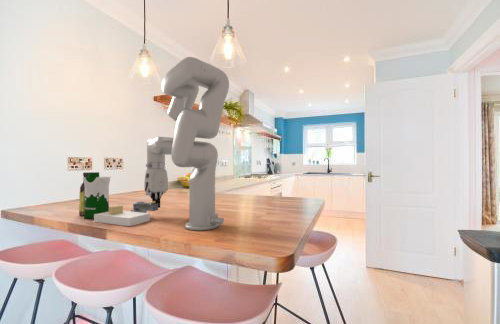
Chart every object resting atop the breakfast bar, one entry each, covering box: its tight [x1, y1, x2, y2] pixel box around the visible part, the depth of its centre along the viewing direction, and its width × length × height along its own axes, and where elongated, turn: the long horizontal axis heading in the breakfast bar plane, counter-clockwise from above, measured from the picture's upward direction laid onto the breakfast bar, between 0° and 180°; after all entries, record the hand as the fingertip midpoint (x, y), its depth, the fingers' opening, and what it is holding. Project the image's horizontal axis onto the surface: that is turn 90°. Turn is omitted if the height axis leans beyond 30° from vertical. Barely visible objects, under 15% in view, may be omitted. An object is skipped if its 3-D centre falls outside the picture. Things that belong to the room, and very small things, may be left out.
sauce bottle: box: [78, 171, 91, 216], centre depth 115 cm, size 7×6×20 cm
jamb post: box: [130, 209, 148, 213], centre depth 108 cm, size 5×4×3 cm
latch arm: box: [132, 200, 159, 212], centre depth 107 cm, size 12×4×4 cm, turn 65°
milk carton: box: [82, 171, 111, 219], centre depth 109 cm, size 9×9×20 cm
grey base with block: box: [93, 204, 151, 227], centre depth 101 cm, size 20×10×6 cm, turn 67°
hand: (156, 207), depth 109 cm, fingers closed
